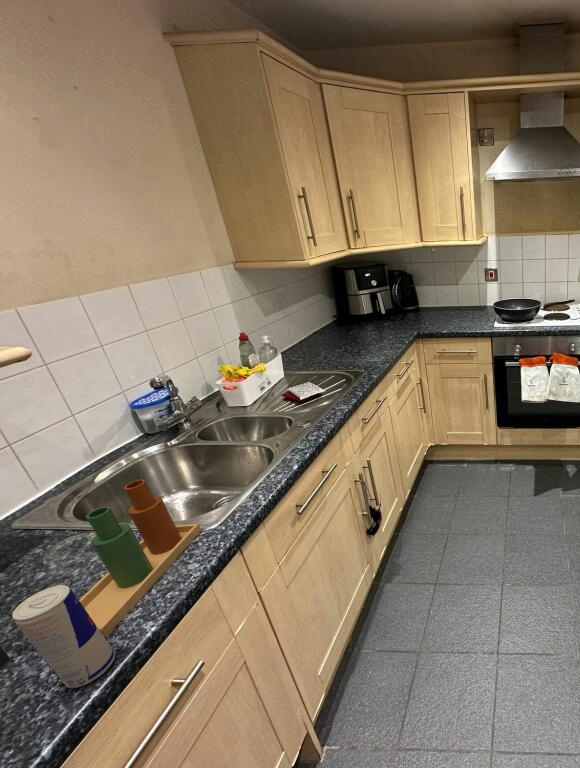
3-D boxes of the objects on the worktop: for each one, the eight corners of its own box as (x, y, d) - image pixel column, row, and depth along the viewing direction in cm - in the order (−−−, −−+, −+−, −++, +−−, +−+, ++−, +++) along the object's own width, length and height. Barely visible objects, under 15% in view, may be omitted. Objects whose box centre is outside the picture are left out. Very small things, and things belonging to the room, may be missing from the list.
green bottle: (111, 591, 75) (68, 524, 69) (133, 568, 80) (96, 503, 73) (140, 588, 75) (100, 521, 69) (160, 566, 80) (125, 501, 73)
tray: (49, 642, 66) (42, 634, 65) (159, 534, 88) (155, 527, 87) (106, 637, 66) (101, 629, 66) (202, 530, 89) (198, 523, 88)
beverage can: (117, 669, 61) (68, 599, 55) (65, 699, 58) (7, 628, 52) (116, 644, 65) (70, 576, 59) (67, 670, 62) (13, 601, 56)
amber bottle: (144, 557, 82) (109, 493, 76) (163, 538, 87) (131, 477, 81) (170, 555, 82) (137, 491, 76) (188, 536, 87) (158, 475, 81)
